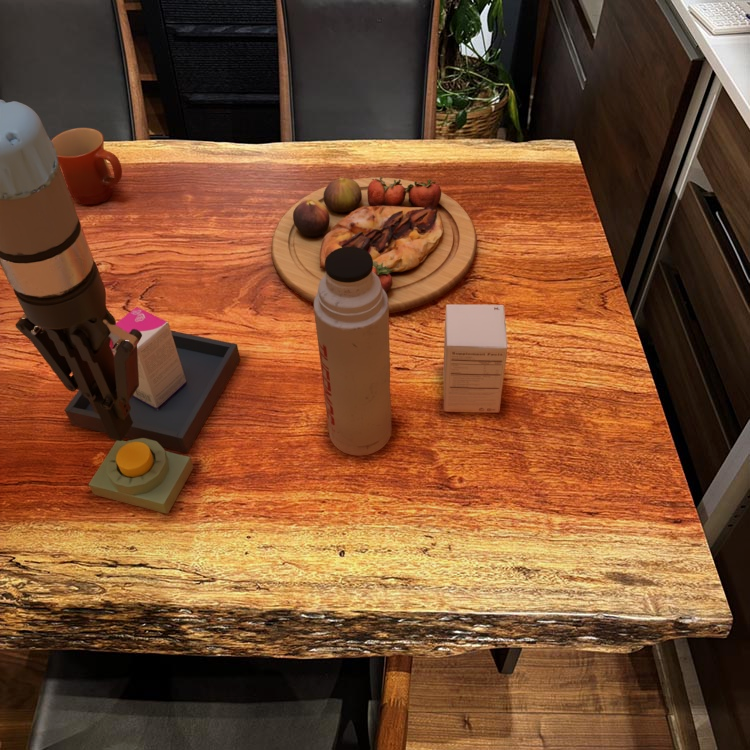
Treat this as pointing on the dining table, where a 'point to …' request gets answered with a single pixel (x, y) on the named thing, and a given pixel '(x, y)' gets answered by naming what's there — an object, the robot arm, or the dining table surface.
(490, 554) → the dining table surface
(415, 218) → the wooden plate
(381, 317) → the thermos bottle
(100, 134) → the mug
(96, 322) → the robot arm
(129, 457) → the button
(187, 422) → the tray
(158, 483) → the control block
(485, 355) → the white packaging box
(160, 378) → the supplement box
